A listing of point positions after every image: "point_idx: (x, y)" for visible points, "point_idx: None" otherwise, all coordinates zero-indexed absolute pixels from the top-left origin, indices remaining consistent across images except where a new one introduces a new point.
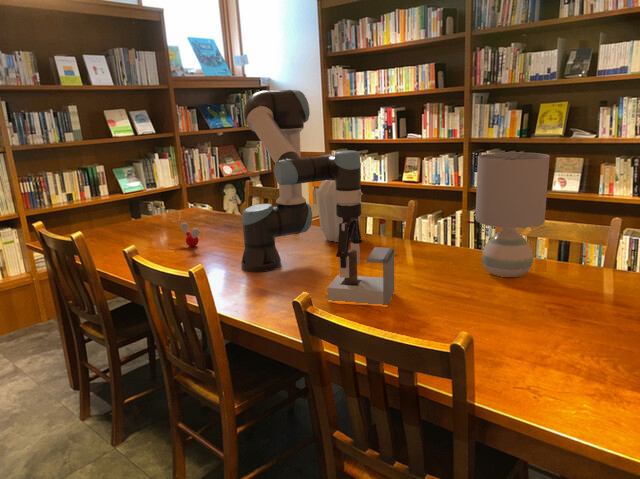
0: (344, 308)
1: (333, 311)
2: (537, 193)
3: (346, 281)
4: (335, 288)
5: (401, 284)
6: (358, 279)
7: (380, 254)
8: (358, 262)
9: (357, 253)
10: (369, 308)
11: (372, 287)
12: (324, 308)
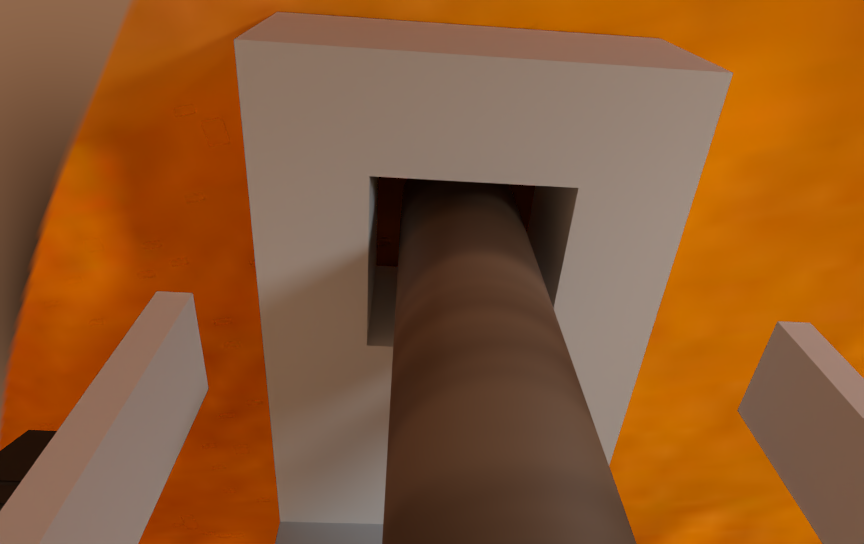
0: (200, 192)
1: (103, 115)
2: None
3: (409, 251)
4: (246, 147)
5: (718, 471)
6: None
7: None
8: (748, 412)
9: (825, 515)
10: (260, 355)
11: (352, 452)
12: (133, 11)
